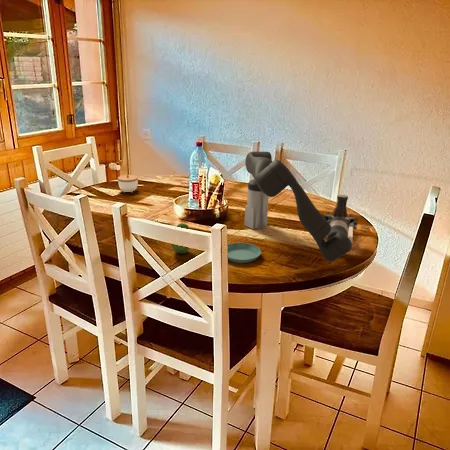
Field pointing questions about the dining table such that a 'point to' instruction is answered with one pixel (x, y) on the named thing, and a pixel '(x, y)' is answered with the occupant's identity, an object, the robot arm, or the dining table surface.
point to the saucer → (242, 252)
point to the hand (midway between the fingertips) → (339, 215)
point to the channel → (350, 233)
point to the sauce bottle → (341, 207)
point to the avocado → (180, 248)
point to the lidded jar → (128, 183)
